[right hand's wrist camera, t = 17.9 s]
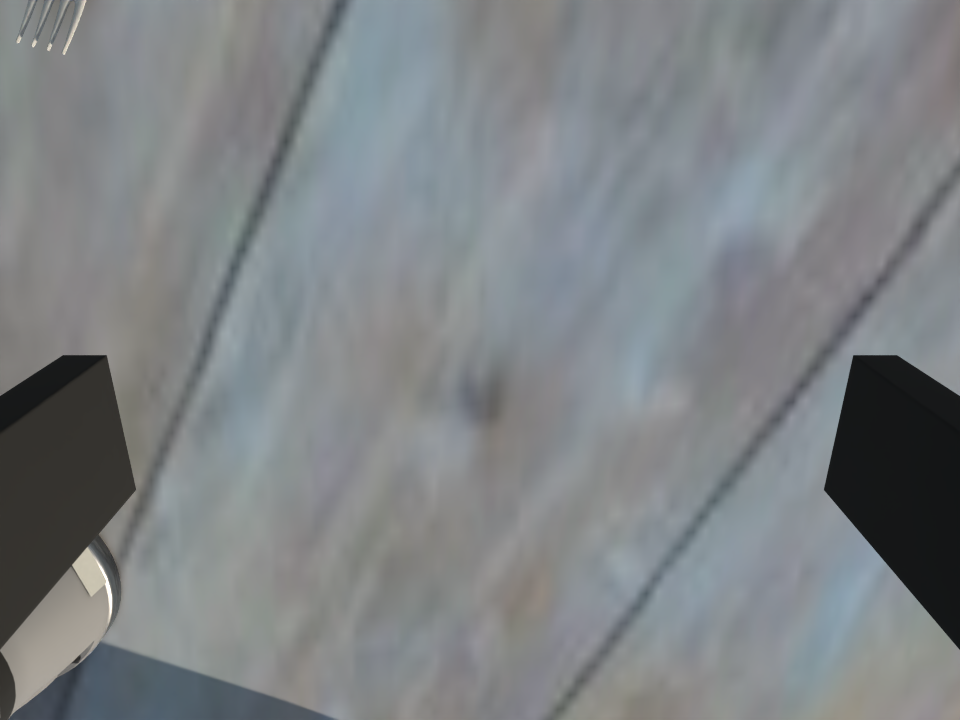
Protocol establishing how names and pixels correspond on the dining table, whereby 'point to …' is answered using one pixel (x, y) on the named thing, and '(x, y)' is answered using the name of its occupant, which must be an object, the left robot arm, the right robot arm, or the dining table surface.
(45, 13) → the fork
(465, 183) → the dining table surface
